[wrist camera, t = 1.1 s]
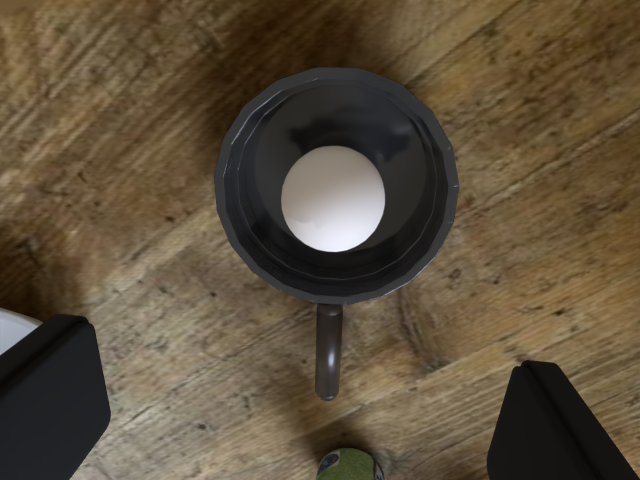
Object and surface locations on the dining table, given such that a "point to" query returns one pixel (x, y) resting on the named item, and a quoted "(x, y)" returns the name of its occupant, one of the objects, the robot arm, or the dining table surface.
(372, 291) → the pan
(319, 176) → the egg
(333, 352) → the pan handle
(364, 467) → the beverage can
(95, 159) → the dining table surface
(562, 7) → the dining table surface
